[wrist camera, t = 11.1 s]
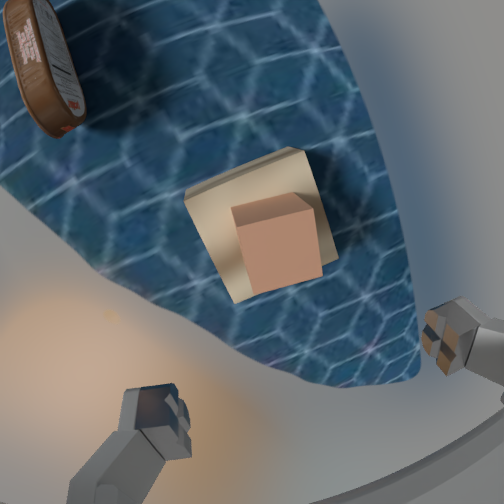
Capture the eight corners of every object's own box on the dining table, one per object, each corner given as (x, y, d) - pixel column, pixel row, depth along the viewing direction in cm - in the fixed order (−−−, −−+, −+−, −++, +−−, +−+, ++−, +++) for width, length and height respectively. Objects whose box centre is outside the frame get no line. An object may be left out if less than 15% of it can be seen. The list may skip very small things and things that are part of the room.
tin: (34, 16, 18) (-8, -8, 10) (60, -1, 18) (23, -31, 10) (73, 138, 24) (29, 145, 16) (101, 122, 24) (64, 122, 16)
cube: (230, 207, 24) (236, 227, 20) (292, 192, 24) (313, 208, 20) (244, 264, 26) (253, 294, 22) (302, 249, 26) (322, 275, 22)
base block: (186, 188, 28) (183, 201, 23) (287, 146, 28) (304, 150, 23) (229, 278, 32) (234, 303, 28) (319, 239, 32) (338, 258, 27)
